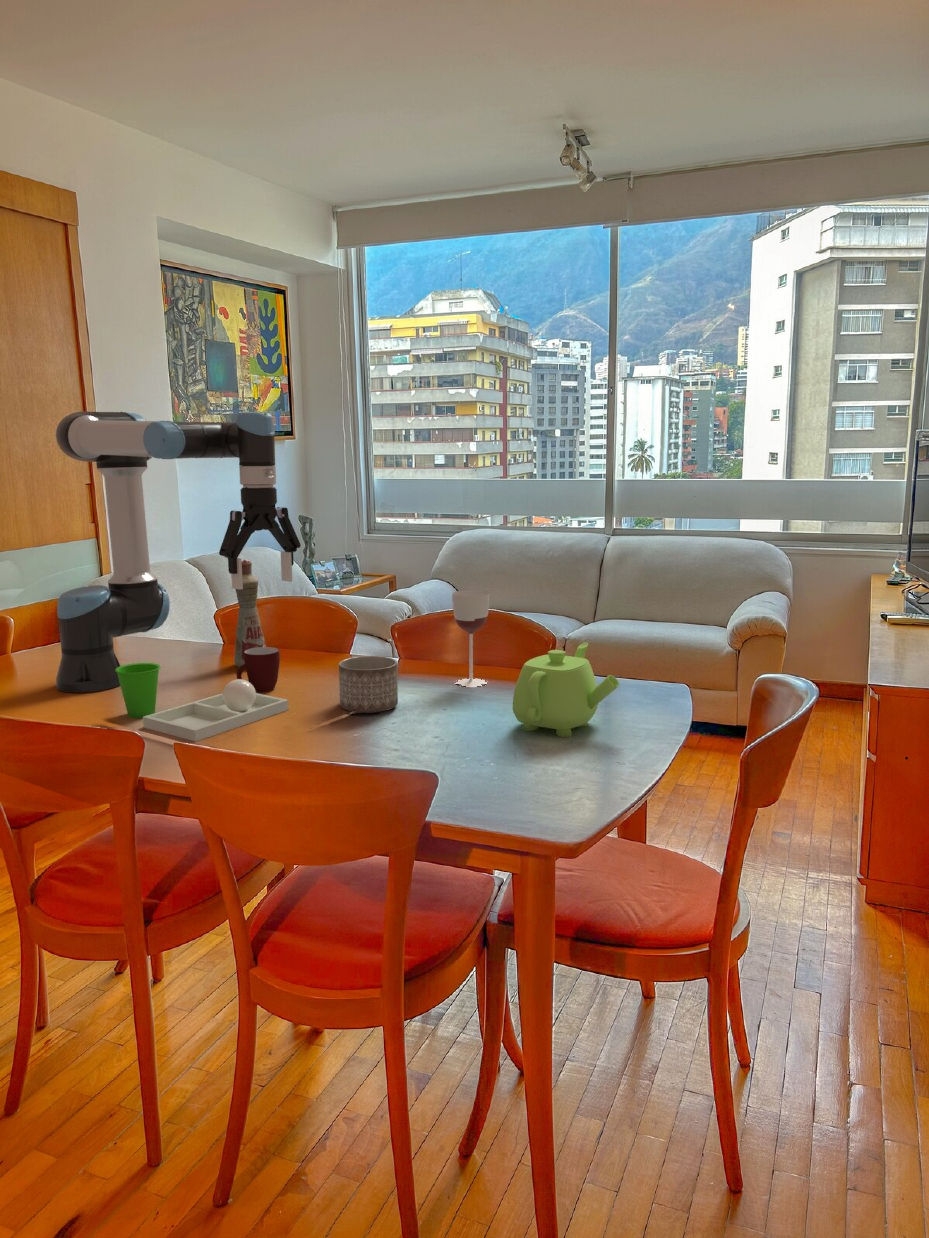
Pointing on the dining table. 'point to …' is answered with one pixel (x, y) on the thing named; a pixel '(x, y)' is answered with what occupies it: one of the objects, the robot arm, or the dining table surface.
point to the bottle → (247, 616)
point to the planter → (368, 684)
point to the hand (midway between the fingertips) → (262, 584)
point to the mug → (261, 667)
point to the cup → (139, 687)
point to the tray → (211, 717)
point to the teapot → (559, 692)
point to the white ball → (239, 695)
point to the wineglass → (470, 622)
